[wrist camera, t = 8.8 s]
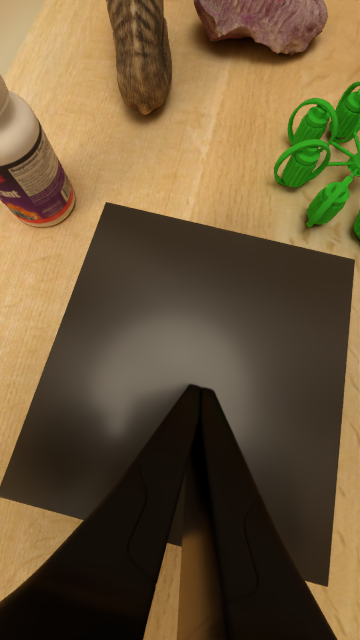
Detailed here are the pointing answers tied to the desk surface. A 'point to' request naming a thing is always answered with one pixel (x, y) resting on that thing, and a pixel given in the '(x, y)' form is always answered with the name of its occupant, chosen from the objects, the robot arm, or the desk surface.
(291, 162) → the chandelier
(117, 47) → the figurine
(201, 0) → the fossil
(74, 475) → the lid
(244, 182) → the desk surface
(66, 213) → the pill bottle
